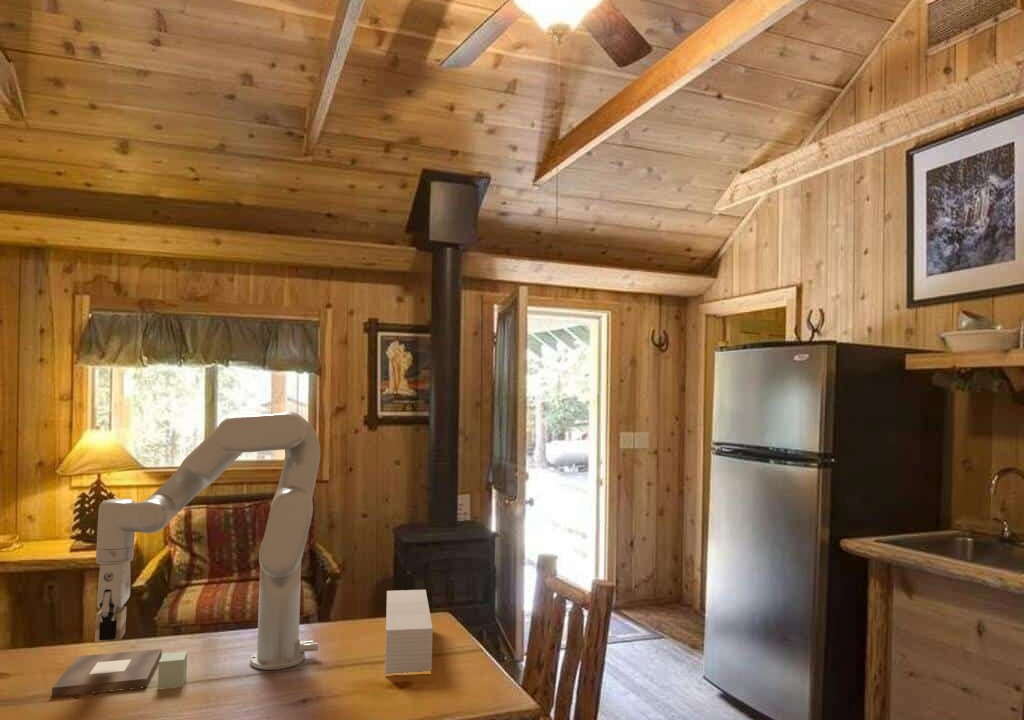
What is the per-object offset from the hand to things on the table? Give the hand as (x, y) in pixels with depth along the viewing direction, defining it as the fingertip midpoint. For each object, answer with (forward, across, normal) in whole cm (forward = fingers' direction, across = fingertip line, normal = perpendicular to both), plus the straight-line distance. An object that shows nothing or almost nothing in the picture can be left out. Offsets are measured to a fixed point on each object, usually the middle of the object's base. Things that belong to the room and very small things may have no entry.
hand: (110, 634), depth 159 cm
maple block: (+1, 0, 0) cm, 1 cm away
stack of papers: (+9, -1, -68) cm, 68 cm away
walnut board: (+9, 0, 0) cm, 9 cm away
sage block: (+9, -8, -14) cm, 19 cm away
